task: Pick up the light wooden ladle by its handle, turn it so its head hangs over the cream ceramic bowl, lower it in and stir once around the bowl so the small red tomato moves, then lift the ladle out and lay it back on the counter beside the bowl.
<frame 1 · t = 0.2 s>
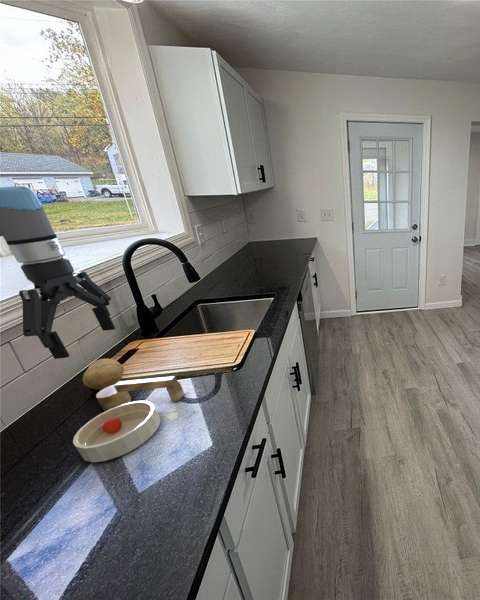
hand: (87, 342, 78), 23 cm above the counter, tool pointing down, fingers open, 13 cm apart
ladle: (117, 404, 92), on the counter
potato: (109, 386, 101), on the counter
tomato: (112, 425, 80), point 2 cm above the counter, touching bowl
bowl: (124, 437, 79), on the counter
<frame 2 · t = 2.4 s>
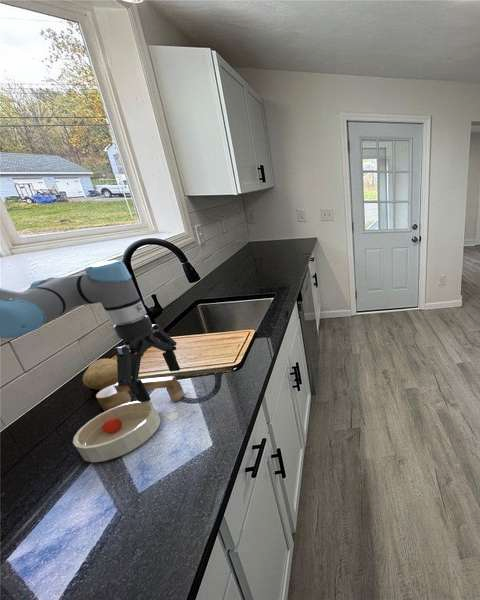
hand: (161, 384, 91), 5 cm above the counter, tool pointing down, fingers open, 13 cm apart
nothing on the counter moved.
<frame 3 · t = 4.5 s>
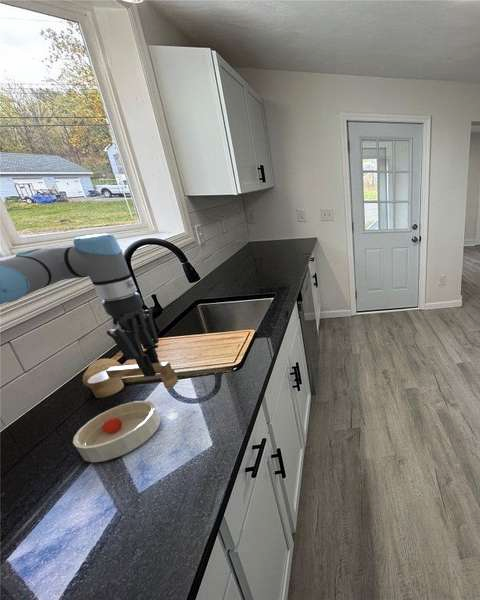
hand: (153, 372, 89), 10 cm above the counter, tool pointing down, fingers closed on ladle, 2 cm apart
ladle: (109, 390, 90), point 5 cm above the counter, touching gripper
everything else where it was.
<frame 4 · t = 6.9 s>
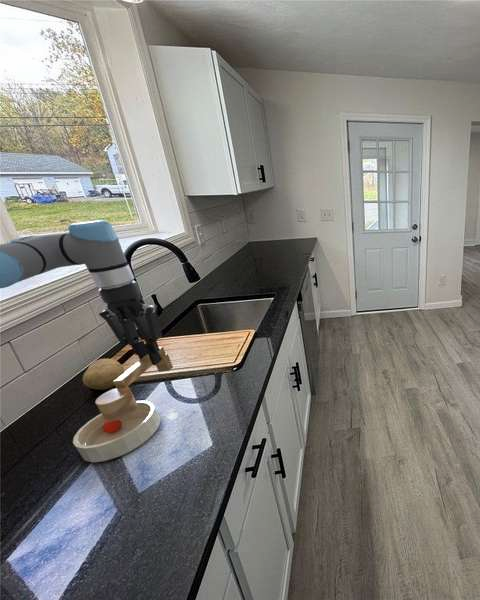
hand: (152, 362, 88), 13 cm above the counter, tool pointing down, fingers closed on ladle, 2 cm apart
ladle: (121, 411, 76), point 8 cm above the counter, touching gripper
everything else where it was.
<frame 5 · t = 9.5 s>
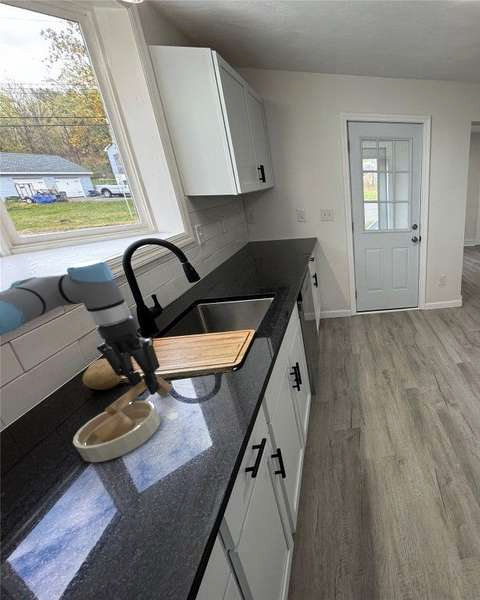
hand: (149, 392, 91), 3 cm above the counter, tool pointing down, fingers closed on ladle, 3 cm apart
ladle: (122, 434, 78), point 2 cm above the counter, tilted 28°, touching gripper
tomato: (108, 427, 80), point 2 cm above the counter, tilted 26°, touching bowl
everything else where it was.
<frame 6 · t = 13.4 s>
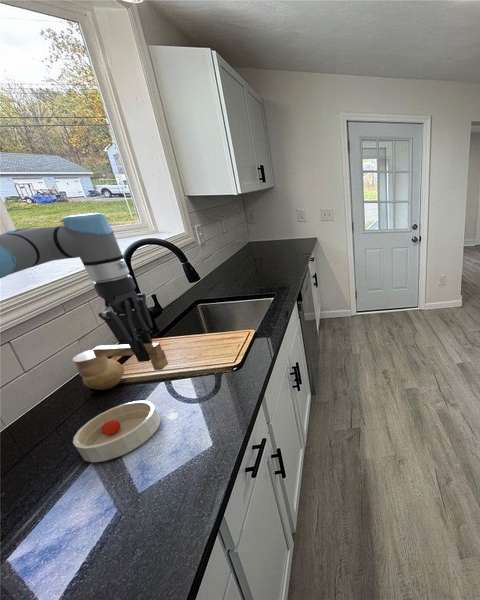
hand: (147, 358, 87), 14 cm above the counter, tool pointing down, fingers closed on ladle, 2 cm apart
ladle: (95, 370, 87), point 12 cm above the counter, touching gripper
tomato: (111, 427, 80), point 2 cm above the counter, tilted 24°, touching bowl
everything else where it was.
when the fingers open (3 cm above the counter, at t = 16.1 s): ladle stays where it is, on the counter.
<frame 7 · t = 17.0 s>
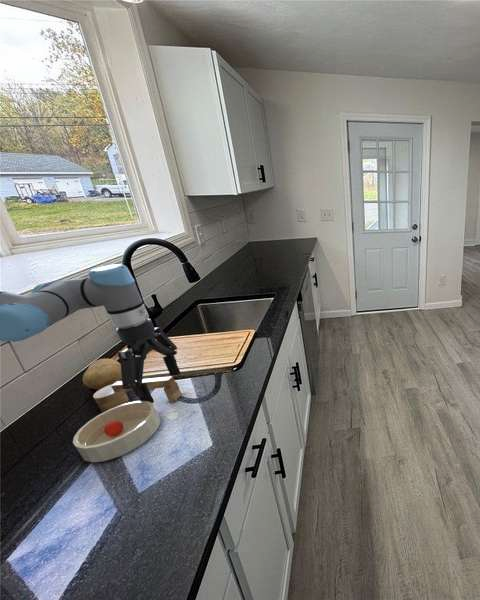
hand: (162, 387, 92), 4 cm above the counter, tool pointing down, fingers open, 12 cm apart
ladle: (115, 404, 92), on the counter
tomato: (113, 428, 79), point 2 cm above the counter, tilted 48°, touching bowl
everything else where it was.
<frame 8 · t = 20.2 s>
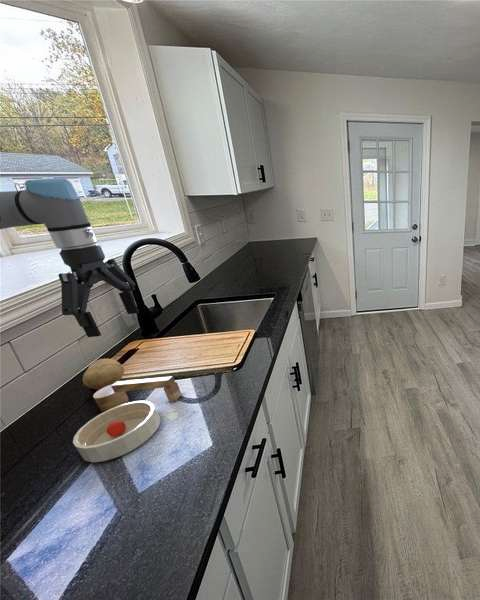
hand: (115, 323, 84), 25 cm above the counter, tool pointing down, fingers open, 13 cm apart
tomato: (116, 428, 79), point 2 cm above the counter, tilted 72°, touching bowl
everything else where it was.
at the end: tomato moved 2.4 cm from its start; tomato inside the target area in the bowl (1.7 cm from its centre), point 2.4 cm above the bowl's base; ladle inside the target area (1.3 cm from its centre), on the counter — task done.
